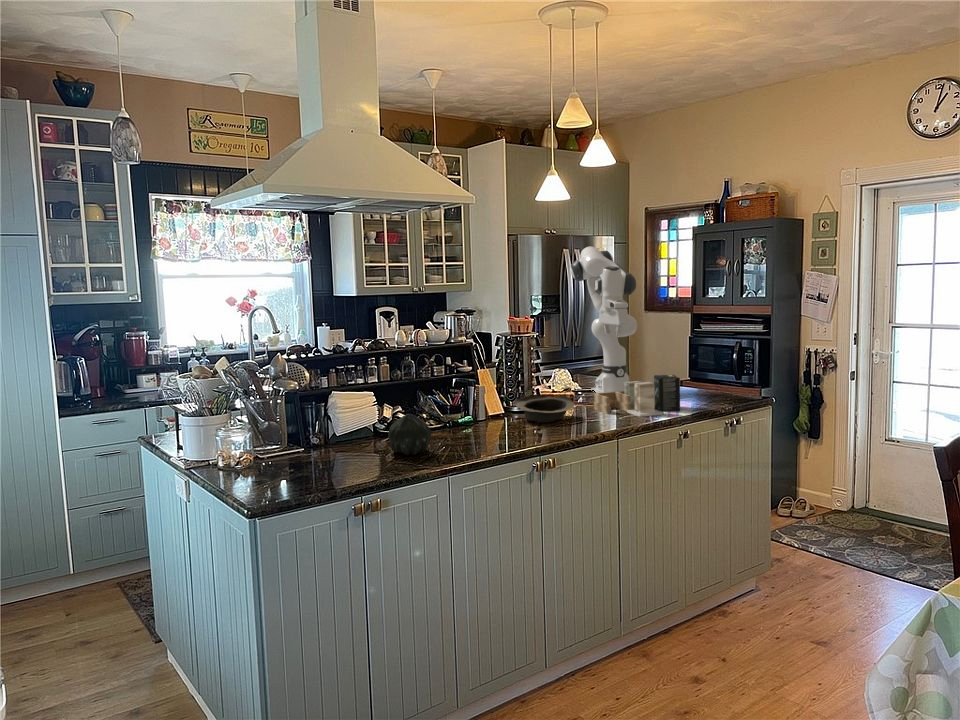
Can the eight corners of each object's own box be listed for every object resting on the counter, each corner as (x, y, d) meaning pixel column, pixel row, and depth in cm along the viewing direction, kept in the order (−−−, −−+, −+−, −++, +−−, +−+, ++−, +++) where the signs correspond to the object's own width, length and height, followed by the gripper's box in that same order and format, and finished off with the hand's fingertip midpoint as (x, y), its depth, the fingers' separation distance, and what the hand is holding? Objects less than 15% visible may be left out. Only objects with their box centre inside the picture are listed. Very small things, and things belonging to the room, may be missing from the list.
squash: (411, 429, 266) (393, 404, 257) (444, 435, 258) (426, 409, 248) (393, 461, 259) (373, 436, 249) (425, 468, 251) (406, 442, 241)
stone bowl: (541, 411, 323) (542, 390, 321) (586, 422, 305) (587, 400, 304) (502, 419, 306) (503, 397, 304) (548, 431, 288) (549, 408, 287)
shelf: (593, 408, 325) (593, 382, 324) (636, 404, 332) (636, 378, 330) (607, 413, 313) (606, 386, 311) (651, 409, 319) (651, 382, 318)
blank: (634, 410, 312) (634, 383, 311) (649, 409, 314) (648, 382, 313) (640, 412, 308) (639, 384, 307) (654, 411, 310) (654, 383, 309)
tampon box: (680, 410, 315) (680, 377, 313) (659, 411, 315) (659, 378, 313) (674, 406, 326) (674, 374, 324) (653, 406, 326) (653, 374, 324)
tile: (626, 412, 315) (626, 410, 315) (649, 410, 318) (649, 407, 318) (639, 416, 304) (639, 414, 304) (662, 414, 308) (662, 412, 308)
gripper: (595, 303, 329) (595, 333, 331) (616, 304, 310) (617, 336, 311) (607, 302, 331) (608, 332, 333) (630, 303, 312) (630, 335, 313)
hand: (612, 334), depth 322 cm, fingers open, 8 cm apart
